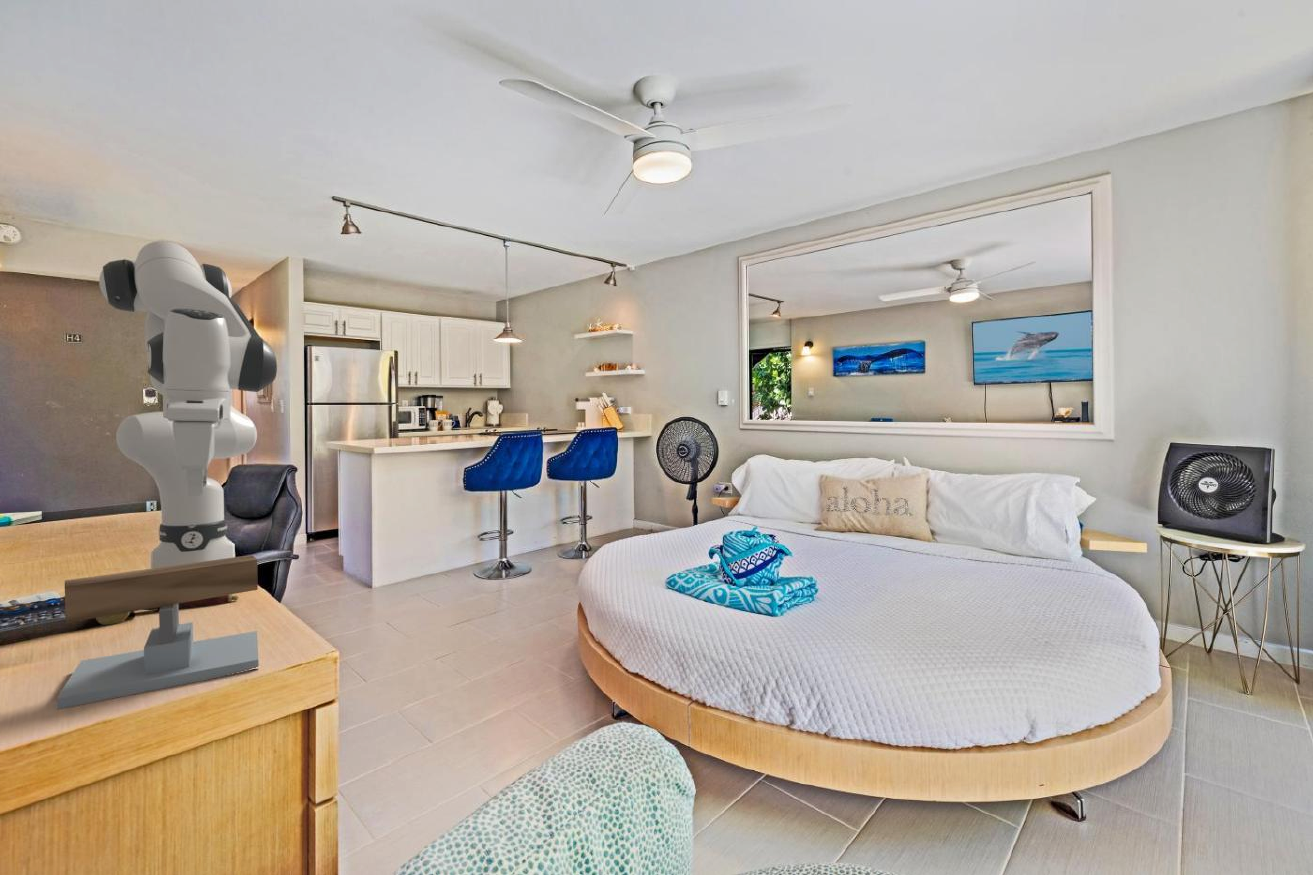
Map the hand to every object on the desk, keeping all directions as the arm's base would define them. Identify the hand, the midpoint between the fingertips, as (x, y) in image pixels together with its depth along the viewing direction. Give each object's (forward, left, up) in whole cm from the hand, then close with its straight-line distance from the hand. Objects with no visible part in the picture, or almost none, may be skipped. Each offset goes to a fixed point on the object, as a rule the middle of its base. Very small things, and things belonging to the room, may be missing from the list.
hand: (198, 490), depth 98 cm
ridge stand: (+10, -3, -26) cm, 28 cm away
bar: (+10, -3, -16) cm, 19 cm away
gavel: (-25, -5, -27) cm, 37 cm away
